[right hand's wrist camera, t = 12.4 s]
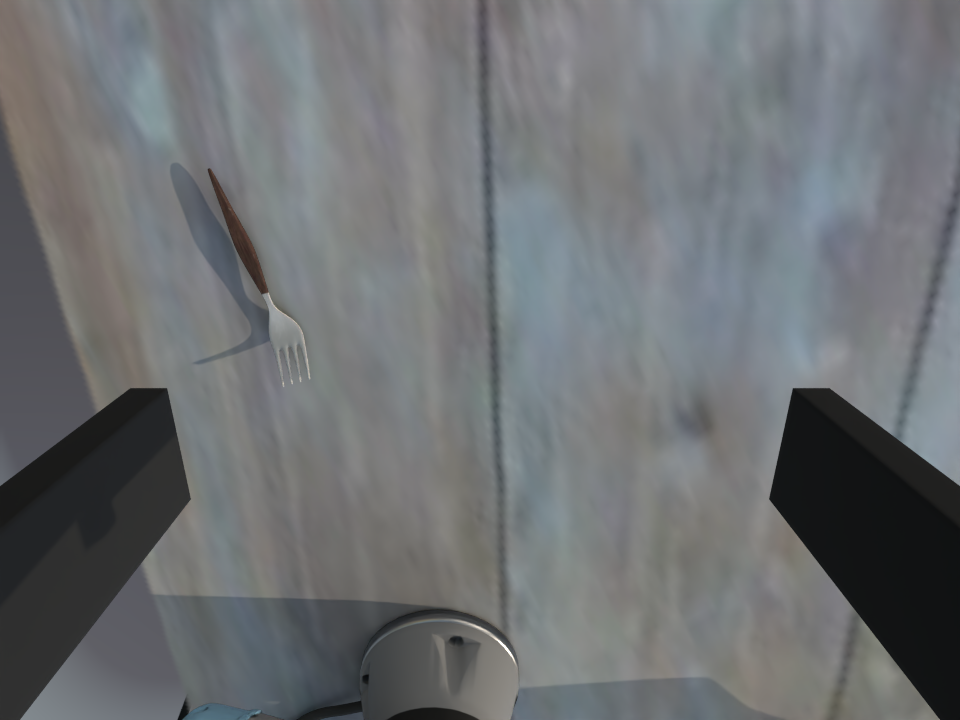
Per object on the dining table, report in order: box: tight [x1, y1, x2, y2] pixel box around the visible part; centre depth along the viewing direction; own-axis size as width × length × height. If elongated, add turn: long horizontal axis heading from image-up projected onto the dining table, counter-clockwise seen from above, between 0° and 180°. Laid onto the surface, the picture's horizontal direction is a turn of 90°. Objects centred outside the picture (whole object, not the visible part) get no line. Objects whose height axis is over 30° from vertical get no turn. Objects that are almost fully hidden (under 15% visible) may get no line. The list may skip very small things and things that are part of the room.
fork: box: [208, 169, 310, 387], centre depth 42 cm, size 3×16×2 cm, turn 17°
